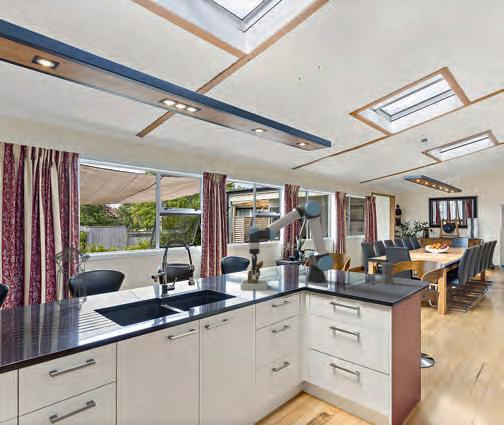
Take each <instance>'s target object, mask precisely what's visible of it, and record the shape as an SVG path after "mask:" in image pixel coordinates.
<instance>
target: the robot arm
mask: <svg viewBox="0 0 504 425" xmlns="http://www.w3.org/2000/svg"><path fill="white" fill-rule="evenodd" d="M321 212H322V205H321V204H320V203H319V202H318V201H316V200H314V199H313V200H305V201H303V202H300V204H298V205H297V206H296V207H293V209H292V210H291V211H290V212H288V213H287V214H285V215H284V216H281V217H280V218H278V219H276V220H275V221H273V222H272V223H269V224H268V225H266V226H265V227H263V228H261V229H260V227H257V226H254V227H249V230H248V231H249V232H248V235H249V236H248V238H249V239H248V242H249V243H248V247H249V250H248V252H249V254H250V255H252V256H251V268H250V271H252V279H256V269H257V265H258V256H257V255H259V254H260V253H261V252H260V241H274V240H276V236H277V234H276V233H278V232H279V231H281V229H283V228H285V227H287V226H289V225H290V224H292V223H294V222H295V221H297V220H300V219H302V218H305V220H306V221H307V222H308V226H309V232H310V235H311V240H312V244H313V249H314V252H313V251H312V252H309V254H308V274H307V277H306V281H307V282H310V283H325V282H327V278H326V277H327V276H326V273H325V272H328V271H330V270H331V269H332V268H333V266H334V259H333V258H332V256H331V254H330V251H329V250H328V249H327V247H326V246H327V245H326V243H325V239H324V233H323V230H322V225H321V221H320V218H321V217H322V216H321Z"/></svg>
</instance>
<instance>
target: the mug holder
mask: <svg viewBox="0 0 504 425" xmlns="http://www.w3.org/2000/svg"><path fill="white" fill-rule="evenodd" d="M247 280H248V279H242V281H241V282H240V290H244V291H245V290H254V291H255V290H257V291H259V290H263V291H265V290H266V291H267V290H268V287H269V281H268V279H267V280H266V279H265V280H264V279H261V280H260V279H258V284H247Z"/></svg>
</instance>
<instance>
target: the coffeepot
mask: <svg viewBox="0 0 504 425" xmlns="http://www.w3.org/2000/svg"><path fill="white" fill-rule="evenodd" d="M385 261H386V262H380V261H377V262H376V263H375V266H376V269H377V272H378V273H380V274H381V273H382V276H381V277H382V278H381V281H380V282H381V283H380V284H382V283H383V285H388V284H391V285H394V279H393V270H394V269H395V267H396V266H397V265H396V264H395V263H392V262H390V261H389V259H386V260H385ZM379 265H380V266H381V271H380V266H379Z"/></svg>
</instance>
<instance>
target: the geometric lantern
mask: <svg viewBox="0 0 504 425" xmlns="http://www.w3.org/2000/svg"><path fill="white" fill-rule="evenodd" d="M69 253H70V254H69ZM68 254H69V255H68ZM78 256H80V257H78ZM90 257H91V255H90V254H89V255H88V254H87V253H85V252H83V251H82V250H80V249H78V248H76V247H74V246H69V247H67V248H65V249H63V250H62V251H61V250H60V251H59V252H58V253H56V254H55V255H53V256H51V257H50V258H51V259H52V258H53V260H54V261H55V264H56V265H58V268H59V269H58V270H56V272H57V274H56V288H55V301H54V302H55V303H56V304H57V305H58V306H59V310H60V309H62V310H63V308H66V309H65V311H69V312H72V311H71V310H72V308H74V309H73V311H77V310H76V309H77V308H78V307H79V308H78V310H81V309H82V305H83V304H84V303H85V302H87V286H86V285H87V282H86V262H87V261H88V260H89V259H90ZM79 260H80V261H79ZM74 261H77V262H75V263H74ZM61 262H62V263H61ZM65 263H70V264H71V265H70V267H68V268H67V269H62V267H63V266H64V264H65ZM82 263H83V264H84V265H83V267H84V269H82V266H81V265H82ZM60 264H61V265H60ZM76 265H78V267H77V266H76ZM72 266H74V267H75V268H72ZM69 270H74V271H73V273H74V294H73V297H70V298H69V297H68V274H71V273H72V271H69ZM65 271H66V272H65ZM68 271H69V272H68ZM80 272H81V278H82V292H83V293H82V295H83V297H81V283H80V282H81V281H80V280H81V279H80ZM61 274H62V276H61ZM77 274H78V275H77ZM77 276H78V296H76V293H77V292H76V291H77ZM61 277H62V284H61ZM64 282H65V291H66V292H65V295H66V296H65V298H63V297H64V296H63V295H64ZM61 285H62V286H61ZM60 286H61V287H60ZM60 288H61V298H60ZM72 299H73V302H71V303H69V302H68V300H72ZM75 299H76V301H75ZM80 299H81V300H82V301H79V300H80ZM63 301H66V302H65V303H63ZM69 305H72V306H73V307H72V306H69ZM70 308H71V310H70ZM75 308H76V309H75Z"/></svg>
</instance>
